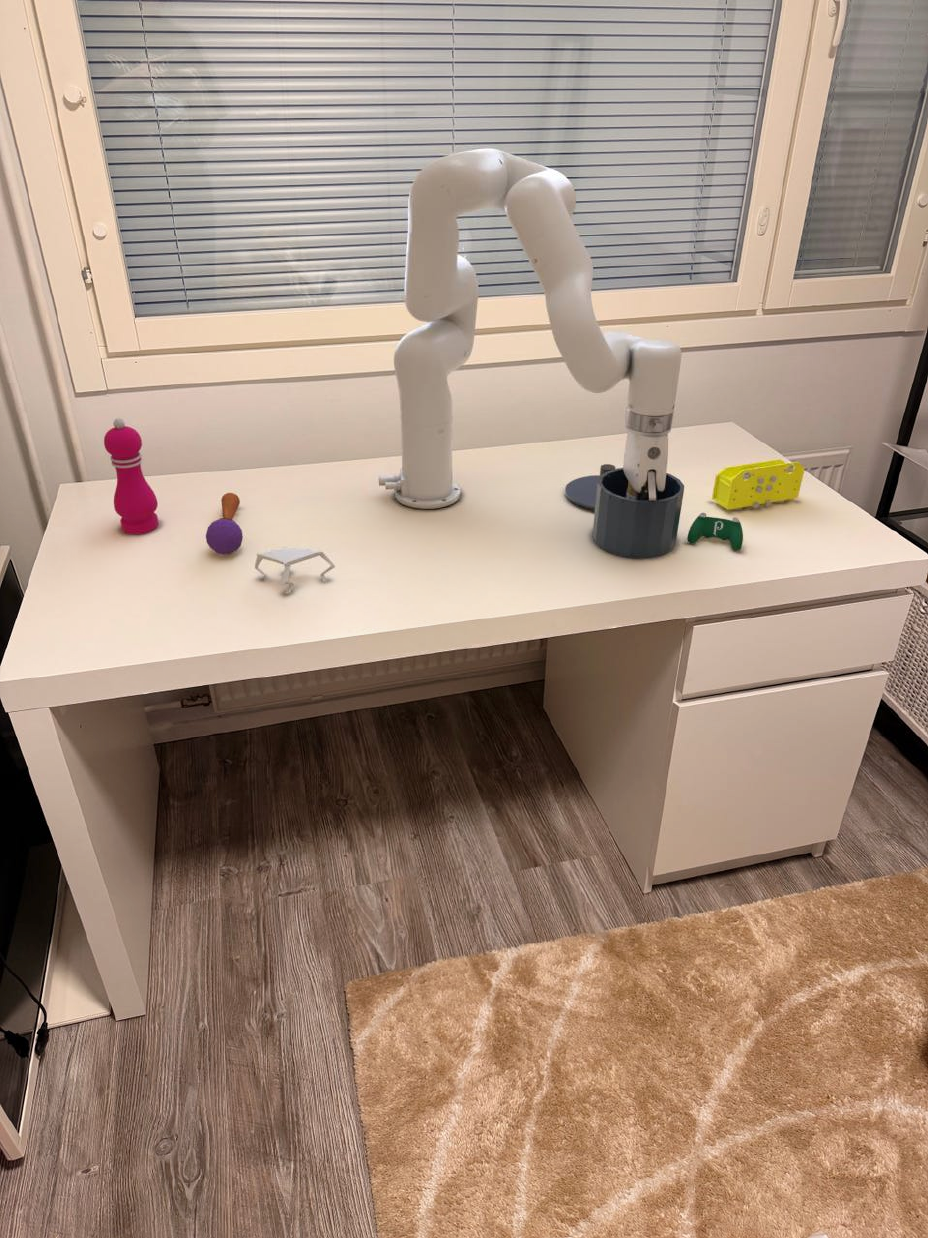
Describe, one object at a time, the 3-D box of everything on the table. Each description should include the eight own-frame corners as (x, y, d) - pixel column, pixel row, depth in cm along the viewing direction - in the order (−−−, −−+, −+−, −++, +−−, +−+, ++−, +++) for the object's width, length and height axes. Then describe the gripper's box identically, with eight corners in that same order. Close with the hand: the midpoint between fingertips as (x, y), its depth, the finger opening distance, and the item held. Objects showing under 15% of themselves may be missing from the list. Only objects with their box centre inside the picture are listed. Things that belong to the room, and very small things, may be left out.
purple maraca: (248, 487, 162) (242, 528, 145) (245, 518, 165) (240, 561, 147) (214, 483, 161) (205, 524, 143) (212, 514, 163) (203, 558, 146)
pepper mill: (170, 522, 159) (150, 415, 148) (142, 539, 153) (119, 428, 143) (139, 514, 161) (117, 408, 151) (110, 530, 156) (85, 421, 145)
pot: (603, 560, 148) (609, 503, 143) (584, 522, 161) (589, 468, 155) (686, 557, 150) (695, 500, 144) (661, 519, 162) (669, 465, 156)
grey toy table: (264, 600, 136) (261, 573, 134) (255, 575, 143) (251, 548, 140) (340, 587, 140) (338, 559, 137) (327, 563, 147) (325, 536, 144)
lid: (573, 515, 163) (576, 484, 160) (558, 481, 176) (560, 452, 173) (655, 512, 164) (659, 482, 161) (633, 479, 177) (637, 450, 174)
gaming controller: (739, 556, 154) (745, 524, 155) (741, 549, 150) (747, 516, 151) (686, 547, 156) (692, 516, 157) (686, 540, 153) (693, 508, 154)
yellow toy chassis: (727, 514, 164) (735, 472, 159) (710, 502, 168) (717, 461, 164) (798, 502, 168) (808, 461, 164) (779, 491, 173) (788, 450, 168)
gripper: (687, 437, 137) (671, 542, 146) (656, 401, 151) (643, 499, 161) (640, 439, 136) (627, 544, 146) (613, 402, 150) (603, 500, 160)
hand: (636, 519), depth 153 cm, fingers closed on sprinkles bottle, 4 cm apart
